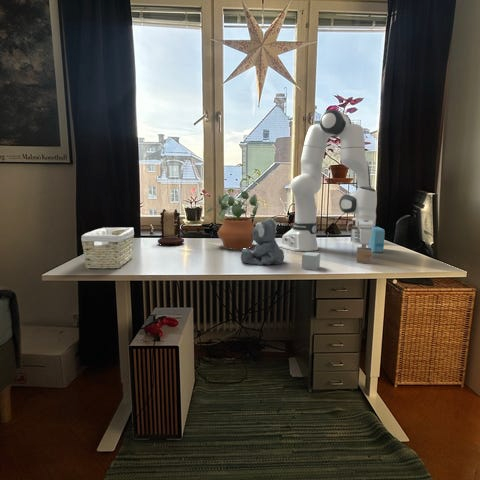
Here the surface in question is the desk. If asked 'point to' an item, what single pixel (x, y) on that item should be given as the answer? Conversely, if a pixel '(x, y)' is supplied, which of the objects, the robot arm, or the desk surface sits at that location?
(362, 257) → the walnut cube
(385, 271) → the desk surface
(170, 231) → the scroll
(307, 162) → the robot arm
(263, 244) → the koala plush
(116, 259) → the storage basket
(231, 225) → the potted plant
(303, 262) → the grey cube
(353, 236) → the french press
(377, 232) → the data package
